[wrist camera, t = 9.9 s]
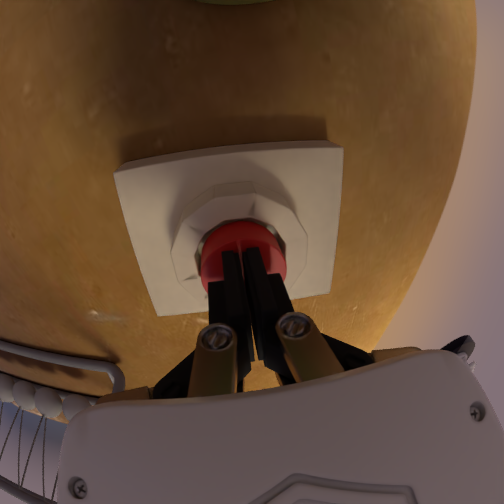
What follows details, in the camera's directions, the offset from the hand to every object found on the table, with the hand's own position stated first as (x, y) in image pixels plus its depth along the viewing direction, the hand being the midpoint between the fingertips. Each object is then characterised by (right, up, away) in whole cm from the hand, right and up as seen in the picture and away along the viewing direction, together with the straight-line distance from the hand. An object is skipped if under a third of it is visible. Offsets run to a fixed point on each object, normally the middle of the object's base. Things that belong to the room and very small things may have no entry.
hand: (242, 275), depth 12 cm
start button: (0, +1, +2) cm, 2 cm away
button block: (-1, +3, +5) cm, 5 cm away
